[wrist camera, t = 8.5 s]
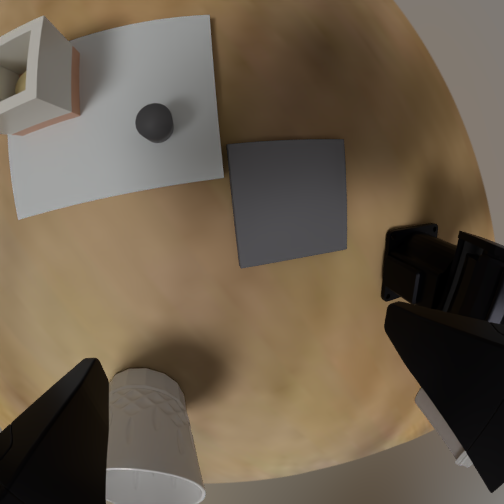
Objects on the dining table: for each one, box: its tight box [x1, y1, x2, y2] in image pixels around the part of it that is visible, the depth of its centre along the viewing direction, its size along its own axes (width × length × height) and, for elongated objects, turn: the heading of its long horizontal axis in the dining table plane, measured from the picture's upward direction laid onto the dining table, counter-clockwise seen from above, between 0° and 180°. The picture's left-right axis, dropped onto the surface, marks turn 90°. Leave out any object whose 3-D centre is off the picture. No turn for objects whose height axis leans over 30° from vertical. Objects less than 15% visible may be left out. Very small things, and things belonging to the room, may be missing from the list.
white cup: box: [106, 368, 206, 504], centre depth 17 cm, size 8×8×10 cm
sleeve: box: [0, 16, 80, 136], centre depth 9 cm, size 4×4×6 cm
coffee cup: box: [415, 387, 473, 468], centre depth 26 cm, size 10×10×15 cm
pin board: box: [8, 15, 224, 220], centre depth 12 cm, size 14×11×4 cm
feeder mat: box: [226, 139, 347, 268], centre depth 19 cm, size 8×8×1 cm
